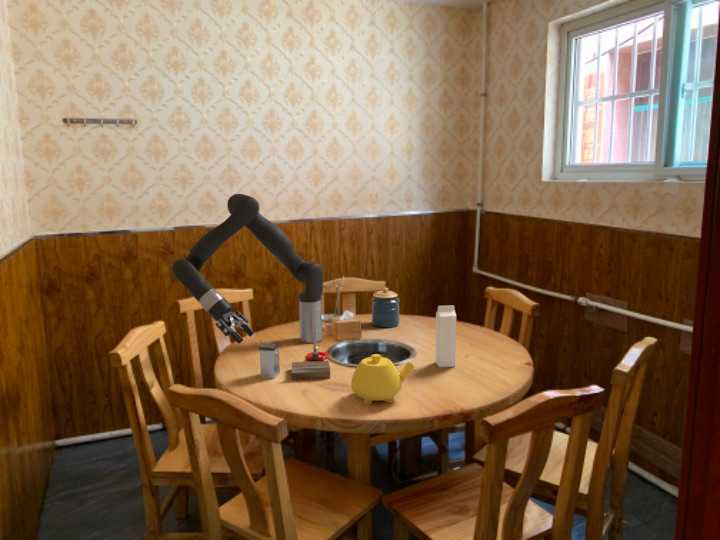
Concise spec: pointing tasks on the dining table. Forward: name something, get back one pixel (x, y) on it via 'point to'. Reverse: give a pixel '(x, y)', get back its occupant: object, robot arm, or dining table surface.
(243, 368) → the dining table surface
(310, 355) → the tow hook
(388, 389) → the teapot
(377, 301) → the canister
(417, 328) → the dining table surface
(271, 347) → the grey rectangular container
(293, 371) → the coupler plate
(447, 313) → the milk
